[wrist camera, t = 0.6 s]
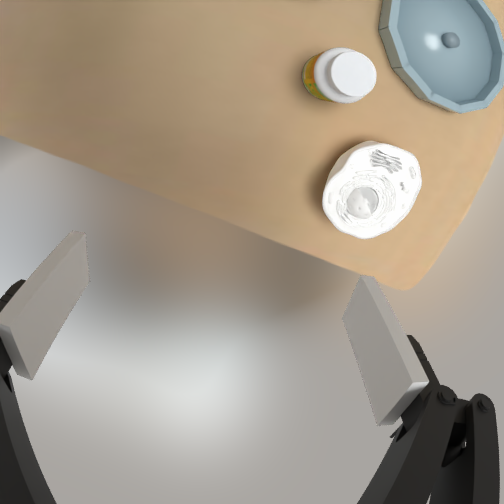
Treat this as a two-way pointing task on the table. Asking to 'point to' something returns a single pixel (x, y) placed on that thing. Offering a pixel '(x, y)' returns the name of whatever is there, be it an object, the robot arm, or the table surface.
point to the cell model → (371, 189)
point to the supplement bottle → (339, 75)
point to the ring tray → (445, 51)
